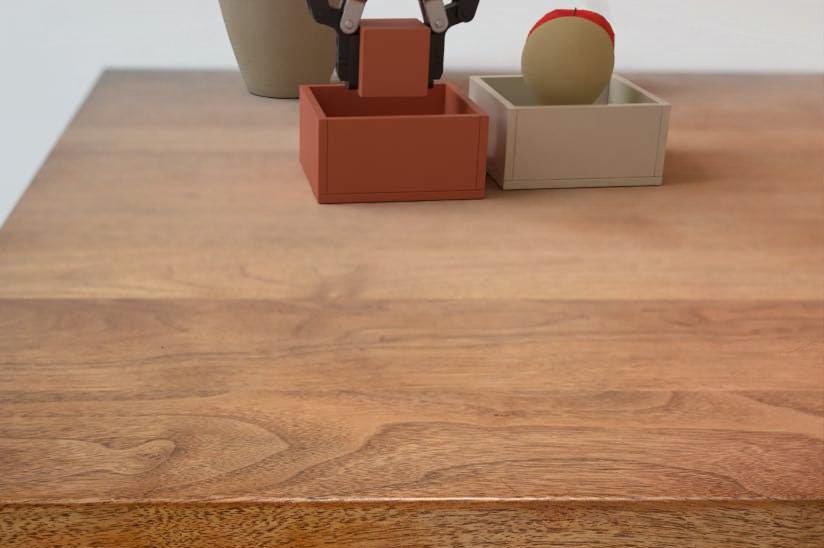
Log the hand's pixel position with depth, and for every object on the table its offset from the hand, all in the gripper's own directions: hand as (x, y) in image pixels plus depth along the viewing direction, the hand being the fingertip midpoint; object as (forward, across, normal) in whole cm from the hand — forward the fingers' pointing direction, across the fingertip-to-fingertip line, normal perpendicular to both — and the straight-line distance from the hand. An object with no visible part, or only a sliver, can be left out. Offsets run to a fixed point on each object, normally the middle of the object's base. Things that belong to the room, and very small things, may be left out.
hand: (388, 85), depth 86 cm
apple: (+7, +22, +29) cm, 37 cm away
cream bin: (+7, +13, +2) cm, 15 cm away
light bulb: (+6, +13, +2) cm, 15 cm away
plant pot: (+7, -4, +31) cm, 32 cm away
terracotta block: (0, 0, 0) cm, 0 cm away
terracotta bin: (+7, 0, 0) cm, 7 cm away
